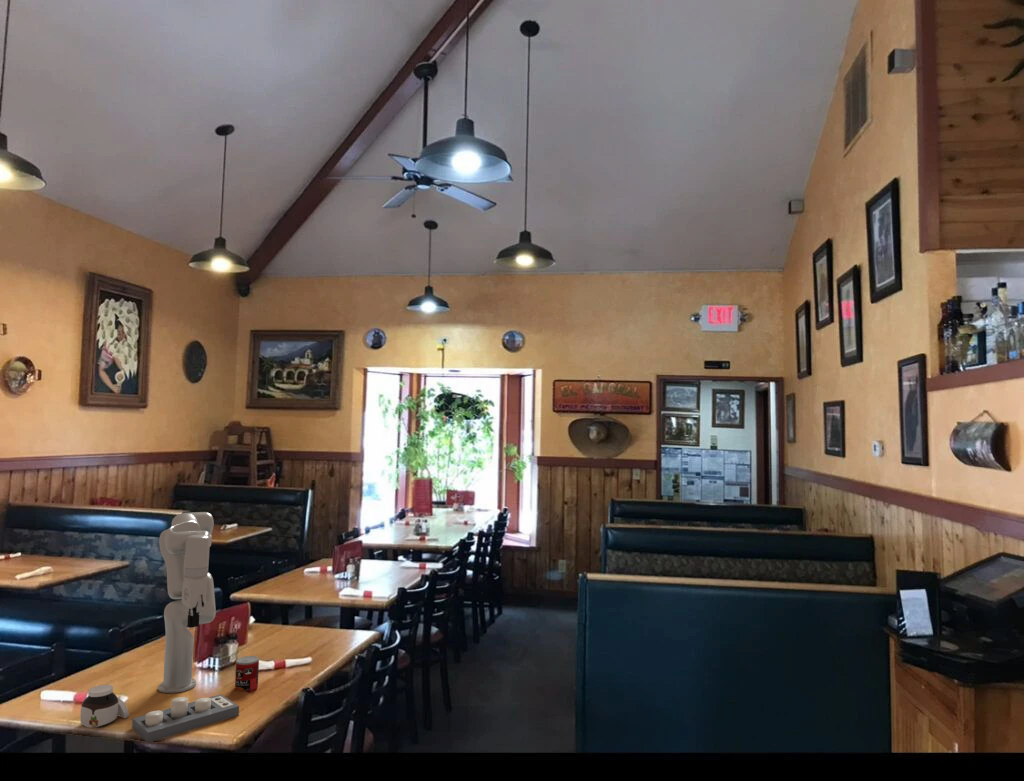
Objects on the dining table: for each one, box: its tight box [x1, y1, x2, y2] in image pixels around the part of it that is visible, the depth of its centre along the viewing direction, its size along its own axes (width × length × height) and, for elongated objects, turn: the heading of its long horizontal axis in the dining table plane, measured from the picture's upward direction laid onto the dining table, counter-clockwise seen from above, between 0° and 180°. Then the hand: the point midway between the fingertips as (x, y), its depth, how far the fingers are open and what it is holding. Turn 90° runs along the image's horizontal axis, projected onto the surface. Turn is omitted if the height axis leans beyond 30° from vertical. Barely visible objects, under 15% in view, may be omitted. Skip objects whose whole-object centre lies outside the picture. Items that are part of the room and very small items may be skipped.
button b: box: [170, 696, 189, 719], centre depth 214 cm, size 5×5×5 cm
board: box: [131, 693, 240, 744], centre depth 215 cm, size 14×28×4 cm, turn 137°
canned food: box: [234, 655, 260, 693], centre depth 246 cm, size 8×8×11 cm
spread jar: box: [79, 684, 130, 729], centre depth 216 cm, size 12×11×12 cm
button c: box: [145, 710, 163, 727], centre depth 208 cm, size 5×5×5 cm
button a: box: [195, 697, 211, 713], centre depth 219 cm, size 5×5×5 cm
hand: (193, 626), depth 225 cm, fingers closed
